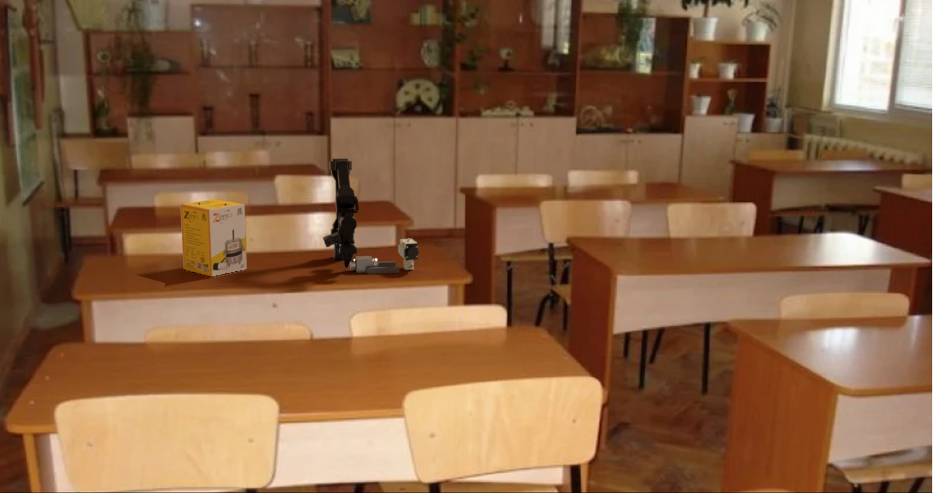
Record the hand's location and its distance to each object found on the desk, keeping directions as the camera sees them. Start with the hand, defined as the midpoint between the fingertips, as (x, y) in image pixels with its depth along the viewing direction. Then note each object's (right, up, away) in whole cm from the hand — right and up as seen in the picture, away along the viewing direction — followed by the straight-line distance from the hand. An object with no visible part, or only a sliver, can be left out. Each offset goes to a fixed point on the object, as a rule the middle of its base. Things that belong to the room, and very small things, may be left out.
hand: (346, 267), depth 336 cm
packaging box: (-49, -1, -2) cm, 49 cm away
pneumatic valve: (+23, -1, +6) cm, 23 cm away
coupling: (+6, -1, +2) cm, 7 cm away
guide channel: (+13, -1, +3) cm, 13 cm away
